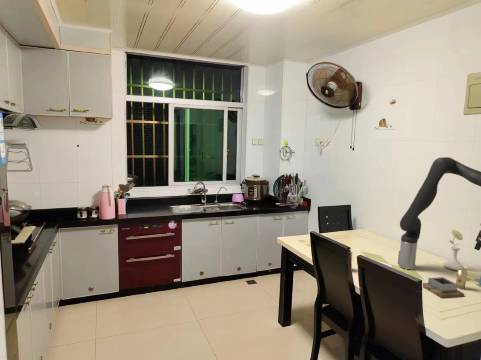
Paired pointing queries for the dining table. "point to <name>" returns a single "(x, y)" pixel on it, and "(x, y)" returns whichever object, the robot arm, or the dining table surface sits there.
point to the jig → (442, 287)
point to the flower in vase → (454, 253)
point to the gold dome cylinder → (461, 278)
